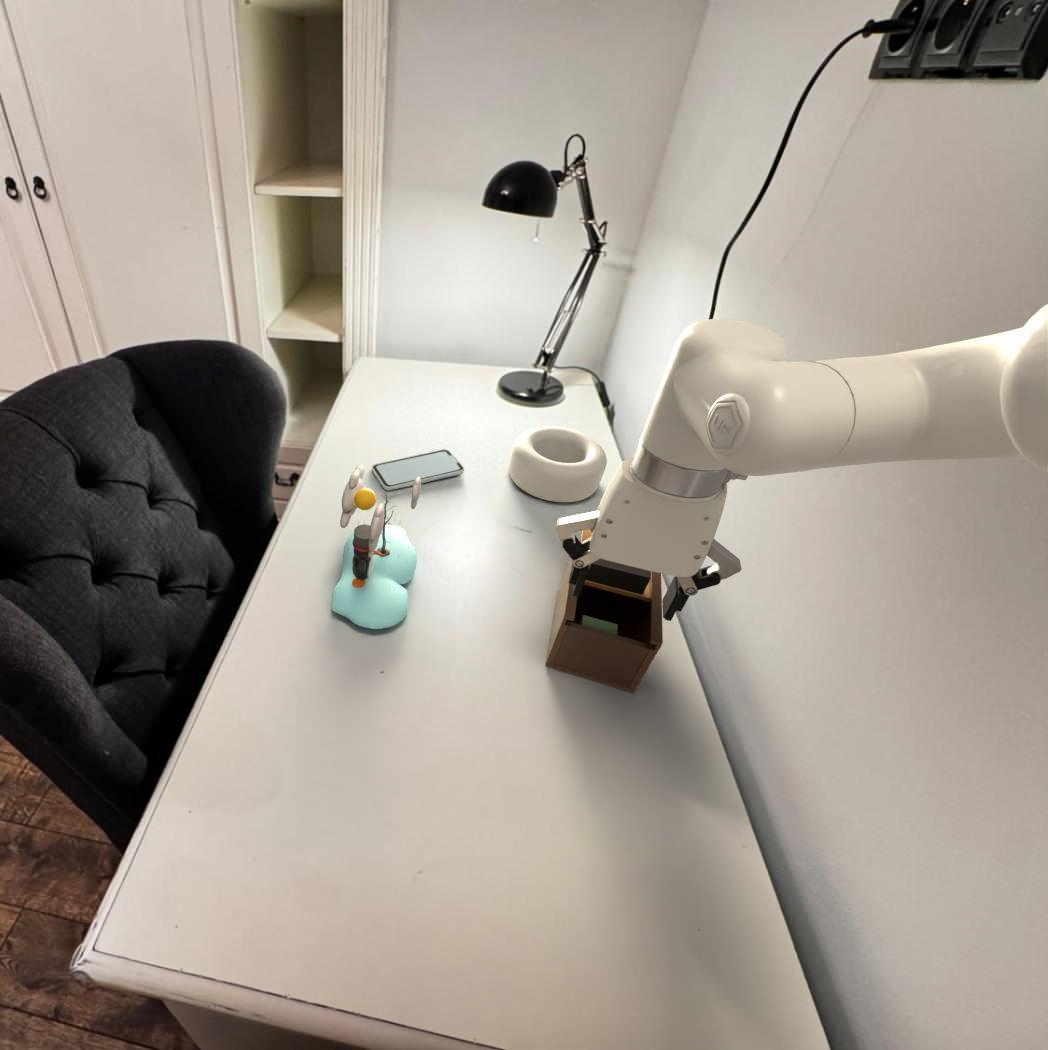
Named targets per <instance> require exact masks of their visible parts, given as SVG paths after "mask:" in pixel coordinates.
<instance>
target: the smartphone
mask: <svg viewBox="0 0 1048 1050" xmlns="http://www.w3.org/2000/svg"><path fill="white" fill-rule="evenodd" d="M371 472H372V474H373V475H374V477H375V478H376V480H377V481H378V482H379V484H380V486H381V487H382V489H384V490H385V491H390V490H391V491H394V490H398V489H402V488H406V487H413V484H414V481H415V479H416V478H417V477H420V478H421V484H424V483H429V482H433V481H437V480H442V479H445V478H450V477H454V476H458V475H462V474H464V472H465V466H464V465H463V464H462V463H461V462H460V461H459V459H458V458H457V457H456V456H455V455H454V454H453V453H452V452H451V451H450V450H448V449H445V448H444V449H439V450H433V451H428V452H424V453H419V454H415V455H410V456H406V457H402V458H401V457H400V458H396V459H392V460H388V461H382V462H379V463H374V464H373V465H372V466H371ZM385 486H386V487H385ZM394 488H395V489H394ZM392 489H393V490H392Z"/></svg>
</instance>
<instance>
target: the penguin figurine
mask: <svg viewBox="0 0 1048 1050" xmlns="http://www.w3.org/2000/svg"><path fill="white" fill-rule="evenodd" d="M364 475H365V466H364V465H363V463H359V464H358V465H357V466H356V467H355V469H354V471H353V472H352V473H351V475H350V477H349V480H348V482H347V483H346V485H345V487H344V490H343V492H342V497H341V509H342V513H341V515H340V520H339V526H340V527H341V528H342V529H345V528H347V526H349V523H350V520H351V518H352V516H353V515H354V514H355V512H356V510H357V509H359V510H361V511H369V510H371V509H372V508H374V506H375V504H376V502H377V496H376V494H375V491H373V490H372V489H371V488H368V487H364V481H363V479H364ZM385 487H386V486H385ZM379 489H380V490H379V491H382V490H381V488H379ZM395 490H396V489H395V488H394V490H393V489H392V490H385V493H383V495H382V498H383V499H385V503H384V504H383V503H379V504H378V505H377V506H376V507H375V510H374V512H373V515H372V518H371V522H370V524H365V523H366V521H365V520H363V524H360V520H358V522H357V526H356V527H354V529H353V531H352V532H351V533H350V534H349V536H348V538H347V539H346V542H345V543H344V546H343V553H342V558H343V560H342V561H343V562H342V571H341V576H340V579H339V581H338V583H336V585H335V587H333V591H332V598H331V605H330V607H331V608H330V609H331V611H332V612H335V613H337V614H338V615H341V616H343V617H345V618H347V619H348V620H349V621H351V622H352V623H353V624H354V625H357V626H359V627H362V628H366V629H370V630H383V629H388V628H391V627H394V626H396V625H397V624H399V623H400V622H401V621H403V620H404V619H405V617H406V616H407V613H408V605H409V603H408V602H409V601H408V600H409V599H408V598H409V597H408V596H409V595H408V593H409V592H408V590H407V589H406V587H404V586H402V585H405V584H407V583H408V582H410V581H411V579H412V577H413V576H414V574H415V572H416V571H415V570H416V569H417V568H416V567H417V563H418V562H417V561H418V556H417V555H418V554H417V551H416V548H415V546H414V545H413V544H412V542H411V541H410V540H409V536H408V533H407V531H406V530H405V529H404V528H402V527H401V526H397V525H392V524H395V520H393V522H392V524H391V519H392V517H393V514H394V510H392V511H391V515H390V516H388V517H387V512H388V511H389V509H387V505H388V504H389V503H390V504H393V503H391V502H389V501H390V499H391V497H392V496H390V497H389V498H388V493H389V492H391V491H395ZM421 490H422V483H421V478H420V477H417V478H416V479H415V481H414V484H413V485H412V488H411V497H410V498H411V500H410V508H411V510H415V509H416V507H417V504H418V501H419V499H420V495H421ZM395 507H397V506H396V505H394V506H392V508H395ZM396 516H397V514H395V517H396ZM395 517H393V519H395ZM399 521H401V519H400V520H399ZM399 525H401V522H399Z"/></svg>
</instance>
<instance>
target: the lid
mask: <svg viewBox="0 0 1048 1050" xmlns="http://www.w3.org/2000/svg"><path fill="white" fill-rule="evenodd" d="M591 536H592V532H591V529H588V530H583V531H581V535H580V542H583V541H585V540H587V539H588V538H590V537H591ZM650 579H651V571H649V570H645V569H641V568H637V567H632V566H628V565H624V564H620V563H616V562H613V561H609V560H605V559H602V558H601V559H599V560H597V561H595V562H593V563H591V564H589V572H588V575H587V578H586V580H585V583H584V585H588V586H591V587H595V588H599V589H603V590H607V591H610V592H614V593H618V594H622V595H625V596H629V597H633V598H637V599H640V600H644V601H648V602H650Z"/></svg>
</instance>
